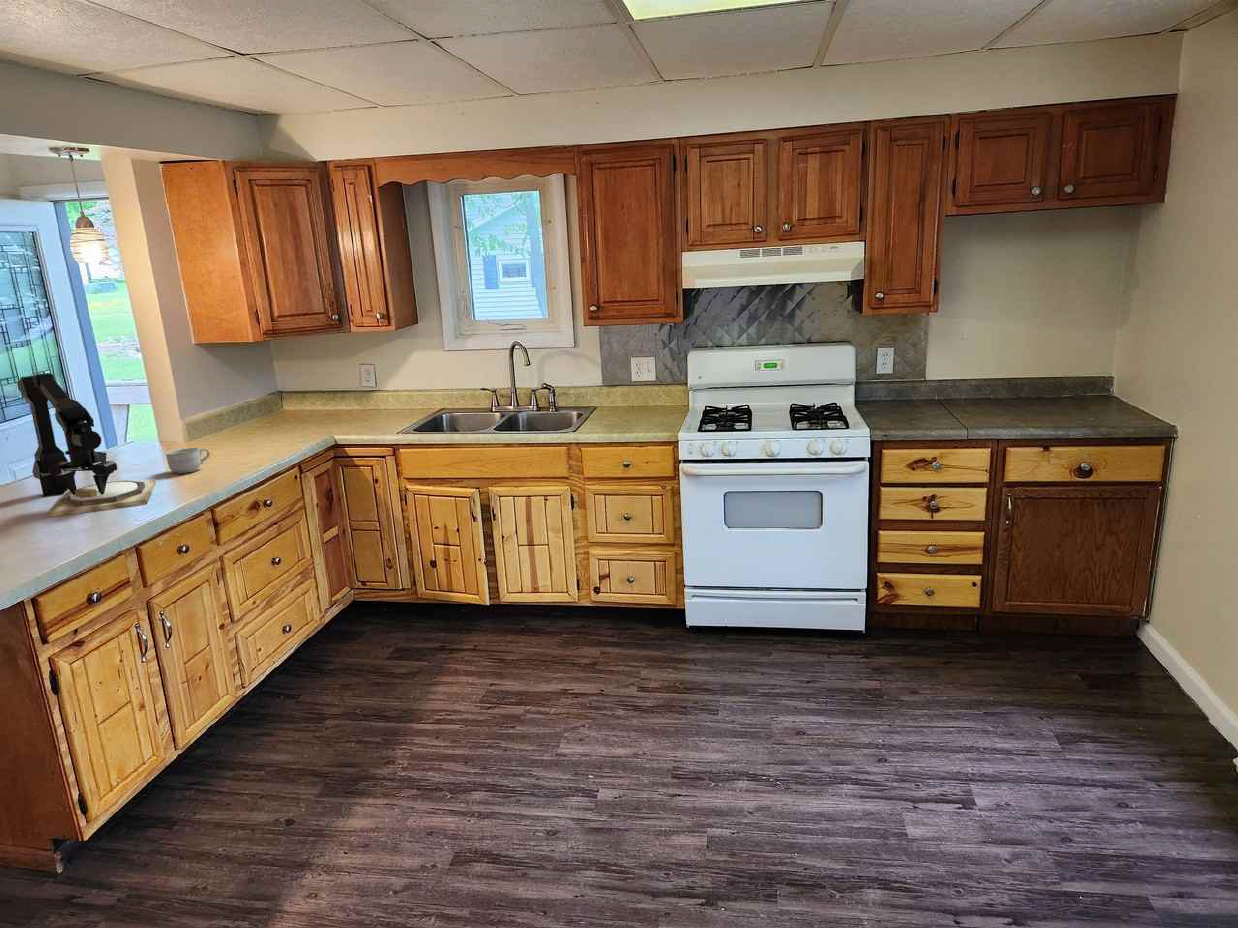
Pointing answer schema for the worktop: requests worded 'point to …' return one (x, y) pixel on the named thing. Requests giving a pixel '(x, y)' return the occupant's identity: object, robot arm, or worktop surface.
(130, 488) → the dial
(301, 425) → the worktop surface
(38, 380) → the robot arm
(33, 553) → the worktop surface
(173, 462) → the teacup
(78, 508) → the dial base
